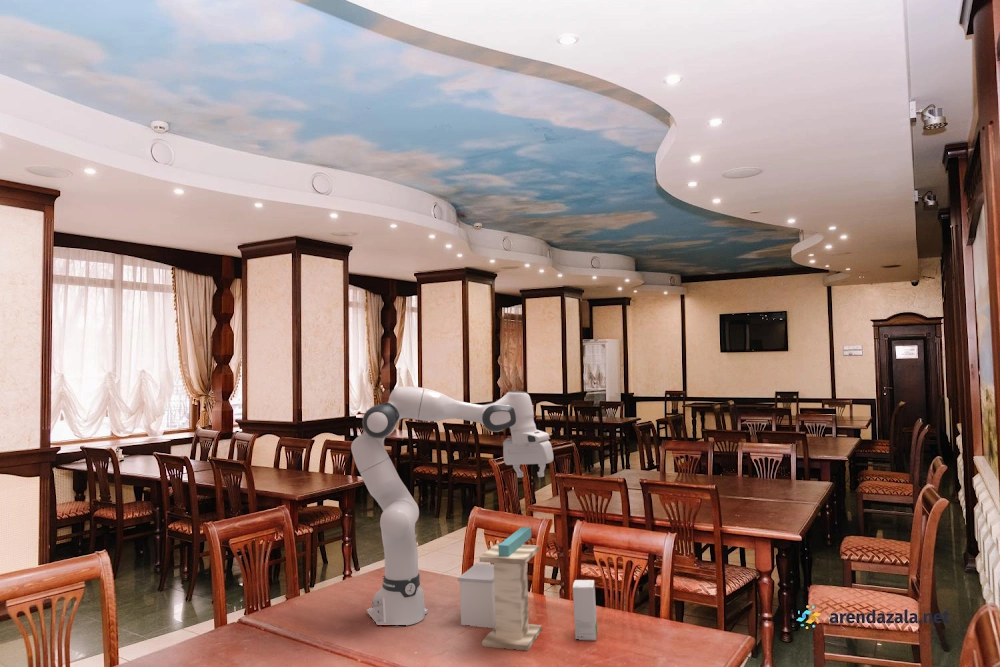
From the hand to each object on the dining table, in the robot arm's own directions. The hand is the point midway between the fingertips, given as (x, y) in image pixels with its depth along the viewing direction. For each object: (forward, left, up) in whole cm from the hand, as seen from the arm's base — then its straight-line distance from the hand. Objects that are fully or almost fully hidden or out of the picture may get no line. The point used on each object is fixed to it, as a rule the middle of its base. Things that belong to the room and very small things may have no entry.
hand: (530, 477), depth 227 cm
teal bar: (+11, -15, -19) cm, 26 cm away
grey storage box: (-6, -17, -45) cm, 48 cm away
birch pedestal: (+14, -20, -45) cm, 51 cm away
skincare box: (+27, -2, -45) cm, 52 cm away
